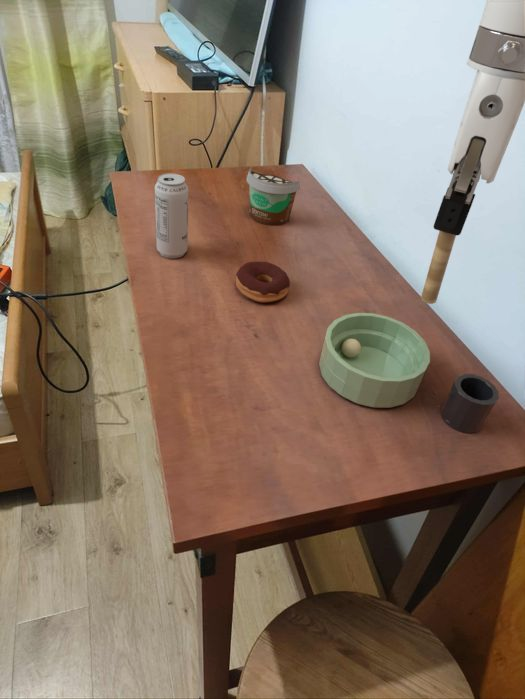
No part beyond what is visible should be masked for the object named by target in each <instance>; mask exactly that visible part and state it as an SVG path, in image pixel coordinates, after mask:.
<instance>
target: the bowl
mask: <svg viewBox="0 0 525 699" xmlns="http://www.w3.org/2000/svg"><path fill="white" fill-rule="evenodd" d="M347 339H355V340H357V341H358V342H359V343H360V345H361V351H360V353H359V354H358V355H357V356H356V357H347V356H345V355H344V353H343V352H342V344H343V343H344V341H346V340H347ZM430 363H431V351H430V348H429V347H428V344H427V342H426V341H425V340H424V339H423V337H422V336H421V335H420V334H419V333H418V332H417V331H416V330H415V329H413V328H412V327H411V326H408V325H407V324H405V323H404V322H402V321H399V320H397V319H396V318H392V317H390V316H388V315H384V314H383V315H382V314H378V313H374V312H355V313H349V314H344V315H342V316H340V317H338V318H336V319H334V320H333V321H332V322H331V324H330V325H329V326H327V328H326V333H325V336H324V341H323V345H322V349H321V353H320V357H319V362H318V367H319V370H320V374H321V376H322V378H323V379H324V381H325V382H326V384H327V385H328V387H330V388H331V389H332V390H333V391H335V392H336V393H337V394H338V395H339V396H341V397H342V398H345V399H347V400H348V401H351V402H353V403H355V404H357V405H362V406H365V407H369V408H388V409H389V408H394V407H398V406H401V405H405V404H406V403H407V402H409V401H410V400H411V399H413V398H414V397H415V396H416V394H417V392H418V390H419V389H420V386H421V384H422V382H423V379H424V377H425V375H426V373H427V370H428V368H429V366H430Z"/></svg>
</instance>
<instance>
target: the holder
mask: <svg viewBox="0 0 525 699" xmlns="http://www.w3.org/2000/svg"><path fill="white" fill-rule="evenodd" d="M499 399H500V393H499V390H498V388H497V387H496V386H495V385H494V384H493V383H492V382H491V381H490V380H489V379H487V378H485V377H484V376H481V375H478V374H475V373H463V374H460V375H457V377H456V378H455V379H454V382H453V383H452V385H451V388H450V390H449V392H448V394H447V396H446V397H445V399H444V402H443V404H442V406H441V408H440V415H441V417H442V418H441V419H443V421H444V422H445V424H447V425H448V426H449V427H450V428H451V429H452V430H453V429H454V430H455V431H456V432H457V431H458V432H460V433H464V434H474V433H477V432H479V431H480V430H481V429H482V428H483V426H484V425H485V423H486V421H487V420H488V418H489V416H490V415H491V413H492V411H493V409H494V408H495V406H496V404H497V403H498V401H499Z"/></svg>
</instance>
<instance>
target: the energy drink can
mask: <svg viewBox="0 0 525 699" xmlns="http://www.w3.org/2000/svg"><path fill="white" fill-rule="evenodd" d="M154 207H155V208H154V209H155V212H154V213H155V238H156V249H157V251H158V252H159V254H160V255H161V256H162V257H163V258H166V259H179V258H182V257H183V256H184V255H185V254H186V252H187V251H188V249H189V246H188V244H189V186H188V185H187V183H186V178H185V177H184V176H183V175H181V174H178V173H170V172H169V173H168V172H167V173H163V174H160V175H158V176H157V181H156V183H155V185H154Z"/></svg>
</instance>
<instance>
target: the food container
mask: <svg viewBox="0 0 525 699" xmlns="http://www.w3.org/2000/svg"><path fill="white" fill-rule="evenodd" d="M246 183H247V184H248V185H249V216H250V218H251V219H252V220H253V221H254V222H256V223H258V224H261V225H266V226H280V225H284V224H286V223H287V222H289V221H290V217H291V213H292V210H293V206H294V202H295V198H296V195H297V192H298V191H299V190H301V182H300V179H297V180H295V181H290V180H288V179H284V178H282V177H281V176H277V175H274V174H264V173H260V172H255V171H253V166H251V167H250V168H249V170H248V172H247V175H246Z"/></svg>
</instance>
